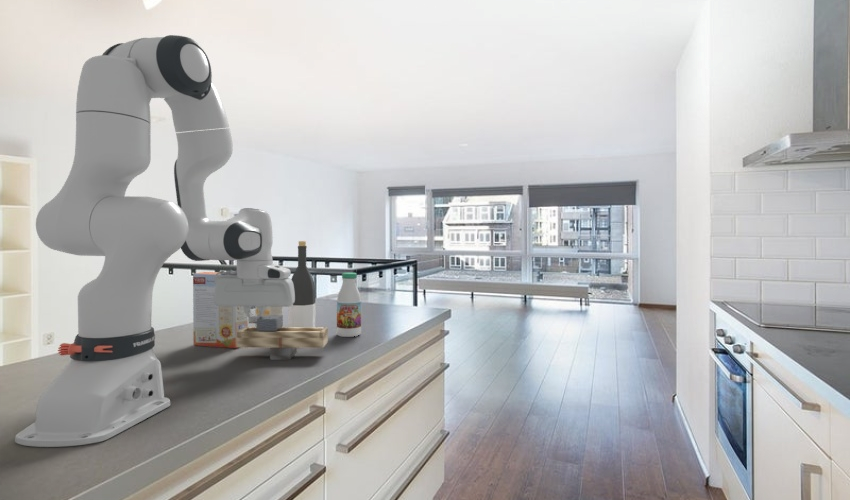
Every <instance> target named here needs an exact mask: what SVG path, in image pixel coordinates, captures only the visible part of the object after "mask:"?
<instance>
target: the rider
mask: <svg viewBox="0 0 850 500" xmlns="http://www.w3.org/2000/svg"><path fill="white" fill-rule="evenodd" d="M283 317H284V316H283V314H282V315H263V316H262V317H260V318H258V319H257V331H279V329H280V328H281V327H283V326H284V324H283V321H284V319H283Z"/></svg>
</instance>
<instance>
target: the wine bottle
mask: <svg viewBox="0 0 850 500" xmlns="http://www.w3.org/2000/svg"><path fill="white" fill-rule="evenodd" d="M306 243H307V242H306V240H298V246H297V267H296V268H295V270H294V273H293V274H292V277H291V278H290V279H291V280H292V282H293V285H294V291H295V302H294V303H293V304H292V305H291V306H289V307H288V308H287V309H288V311H287V312H288V321H287V322H288V325H287V326H288V327H316V286H315V280H314V277H313V276H312V274H311V272H310V270H309V268H308V266H307V248H308V247H307V244H306Z"/></svg>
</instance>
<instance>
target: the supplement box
mask: <svg viewBox="0 0 850 500" xmlns="http://www.w3.org/2000/svg"><path fill="white" fill-rule="evenodd" d="M254 309H255V311H254V312H255V313H254V316H258V314H259V312H260V311H258V306H254ZM263 315H283V307H266V310H265V311H264V313H263ZM263 315H262V316H263ZM254 327H257V323H254Z"/></svg>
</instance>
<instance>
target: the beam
mask: <svg viewBox="0 0 850 500" xmlns="http://www.w3.org/2000/svg"><path fill="white" fill-rule="evenodd" d="M328 329H329V328H328V327H327V326H324V327H316V326H315V327H287V326H285V327H283V326H282V327H281V328H280V329H279V331H257V327H255V326H248V327H245V328H243V329H241V330H240V331H238V332H237V348H268V349H269V360H272V361H273V360H275V361H277V360H281V361H282V360H284V361H285V360H291V359H292V358H293V357H294V355H296V353H297V352H298V351H297V349H298V348H299V349H300V348H302V349H303V348H304V349H305V348H306V349H307V348H309V349H312V348H314V349H315V348H321V349H324V347H325V346H326V345H327V343H328V341H329V338H328V334H329V330H328Z"/></svg>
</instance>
